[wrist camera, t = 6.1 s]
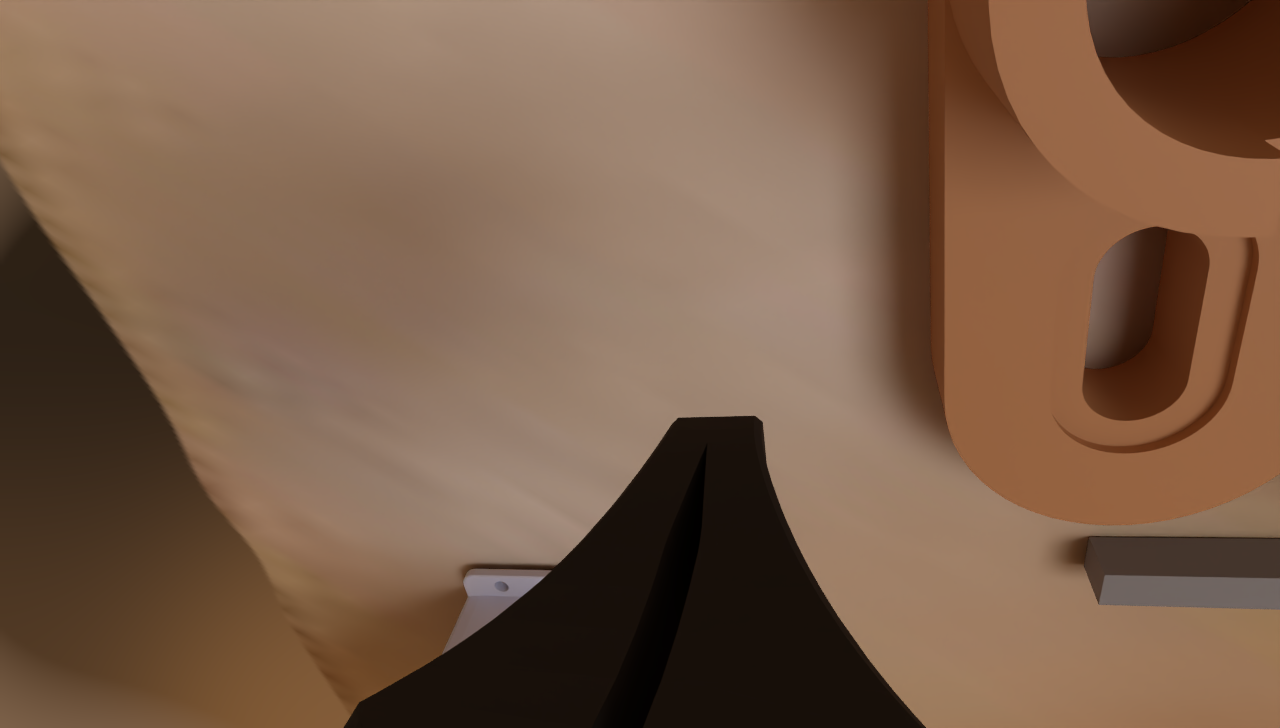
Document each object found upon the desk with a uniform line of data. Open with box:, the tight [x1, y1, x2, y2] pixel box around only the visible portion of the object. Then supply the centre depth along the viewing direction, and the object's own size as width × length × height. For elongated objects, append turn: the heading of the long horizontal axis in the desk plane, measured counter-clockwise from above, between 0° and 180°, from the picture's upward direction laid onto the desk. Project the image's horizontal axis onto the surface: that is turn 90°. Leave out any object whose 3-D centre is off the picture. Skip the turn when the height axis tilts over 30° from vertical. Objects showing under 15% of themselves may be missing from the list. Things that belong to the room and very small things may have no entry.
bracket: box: [928, 0, 1280, 525], centre depth 15 cm, size 18×8×7 cm, turn 12°
